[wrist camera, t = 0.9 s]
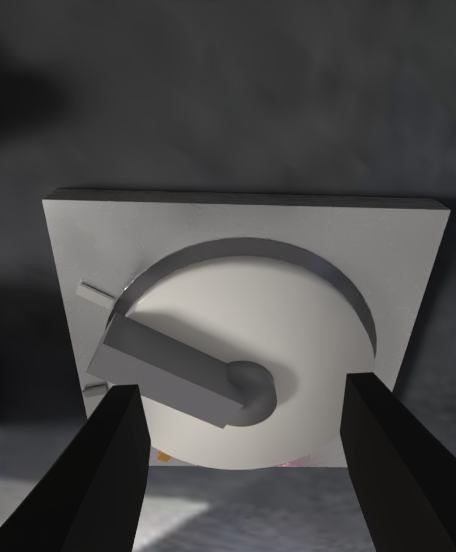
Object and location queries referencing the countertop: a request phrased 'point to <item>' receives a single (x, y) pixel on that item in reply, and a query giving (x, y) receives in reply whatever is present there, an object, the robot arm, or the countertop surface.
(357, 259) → the dial plate
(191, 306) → the dial
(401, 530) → the robot arm
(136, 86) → the countertop surface
